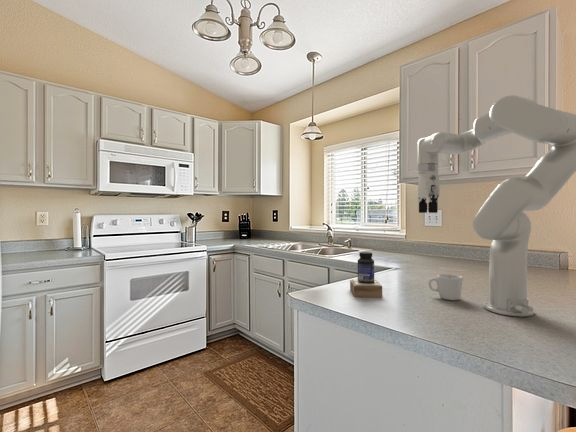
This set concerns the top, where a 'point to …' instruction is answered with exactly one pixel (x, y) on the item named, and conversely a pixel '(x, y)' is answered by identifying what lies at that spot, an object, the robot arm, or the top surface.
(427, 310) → the top surface
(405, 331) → the top surface
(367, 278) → the pill bottle
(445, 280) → the cup
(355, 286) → the base block
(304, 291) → the top surface
